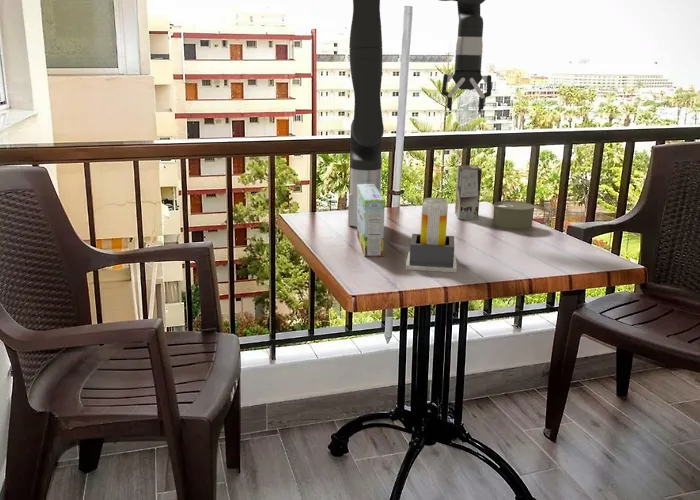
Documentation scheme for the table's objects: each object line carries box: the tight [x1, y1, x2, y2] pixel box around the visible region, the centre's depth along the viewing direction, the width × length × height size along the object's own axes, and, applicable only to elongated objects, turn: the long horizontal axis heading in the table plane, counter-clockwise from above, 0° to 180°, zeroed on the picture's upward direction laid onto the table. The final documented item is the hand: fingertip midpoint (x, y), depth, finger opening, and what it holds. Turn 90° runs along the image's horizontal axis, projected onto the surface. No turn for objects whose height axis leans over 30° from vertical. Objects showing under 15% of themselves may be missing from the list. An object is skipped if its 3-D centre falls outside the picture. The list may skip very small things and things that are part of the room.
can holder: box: [405, 233, 458, 273], centre depth 162 cm, size 12×12×6 cm
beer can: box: [420, 197, 449, 245], centre depth 160 cm, size 6×6×15 cm
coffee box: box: [454, 164, 483, 221], centre depth 210 cm, size 9×6×16 cm
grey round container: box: [492, 200, 535, 233], centre depth 200 cm, size 12×12×7 cm
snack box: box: [356, 184, 386, 258], centre depth 175 cm, size 21×6×15 cm, turn 5°
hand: (464, 111), depth 194 cm, fingers open, 8 cm apart
